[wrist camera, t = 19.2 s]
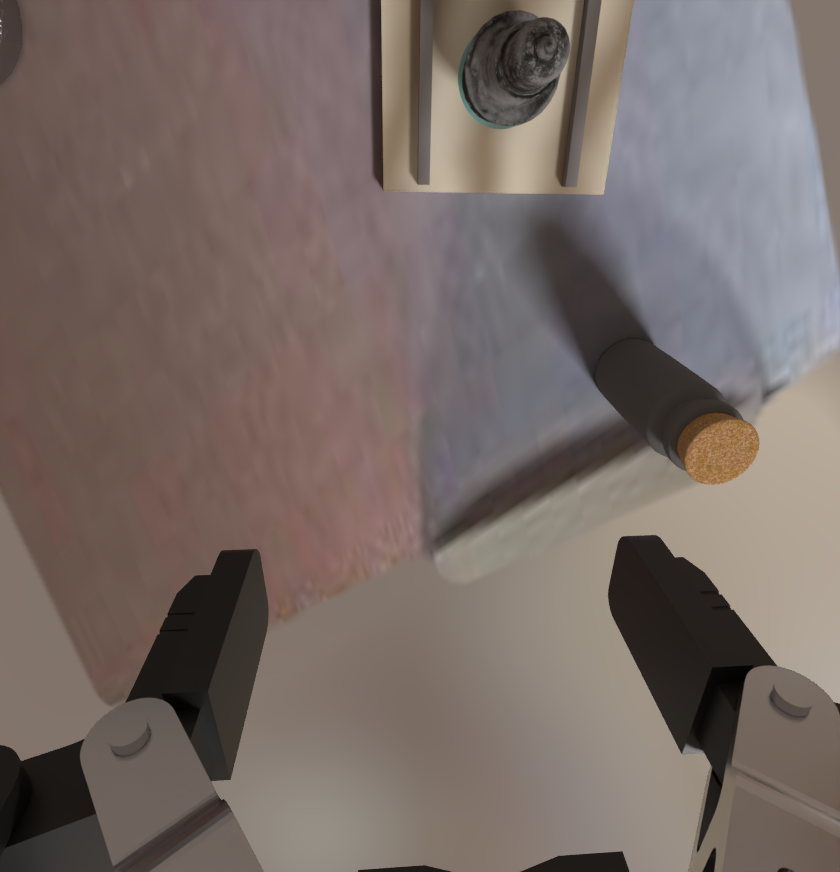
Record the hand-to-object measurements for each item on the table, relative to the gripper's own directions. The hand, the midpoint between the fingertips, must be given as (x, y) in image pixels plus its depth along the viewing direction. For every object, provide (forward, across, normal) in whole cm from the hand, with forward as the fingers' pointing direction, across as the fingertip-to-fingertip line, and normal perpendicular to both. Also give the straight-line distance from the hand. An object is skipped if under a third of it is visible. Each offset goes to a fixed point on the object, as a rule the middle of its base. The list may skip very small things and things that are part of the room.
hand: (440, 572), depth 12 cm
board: (+34, -7, -16) cm, 39 cm away
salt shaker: (+33, -7, -13) cm, 36 cm away
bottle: (+34, -20, +8) cm, 41 cm away
